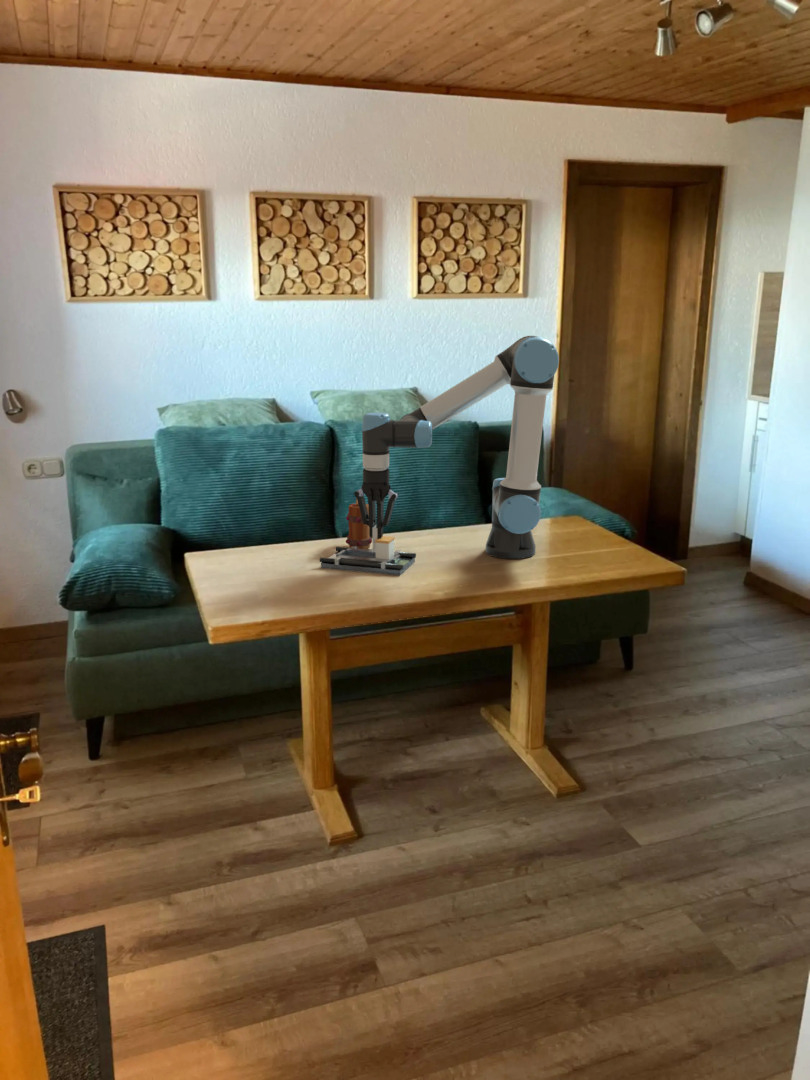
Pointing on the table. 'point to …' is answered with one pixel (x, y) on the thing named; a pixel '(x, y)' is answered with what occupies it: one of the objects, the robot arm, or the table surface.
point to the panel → (369, 569)
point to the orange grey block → (385, 547)
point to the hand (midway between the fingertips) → (376, 548)
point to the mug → (357, 528)
